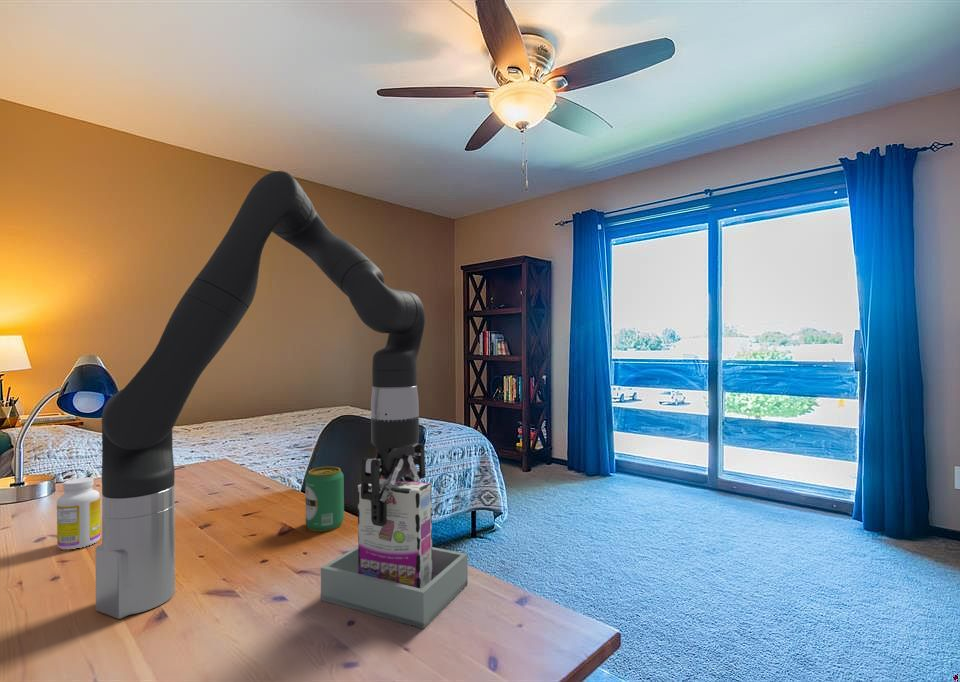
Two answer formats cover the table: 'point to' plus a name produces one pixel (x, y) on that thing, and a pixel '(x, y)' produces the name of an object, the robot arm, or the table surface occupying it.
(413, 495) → the candy bar box
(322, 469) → the beverage can
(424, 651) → the table surface
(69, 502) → the supplement bottle
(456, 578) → the bin
